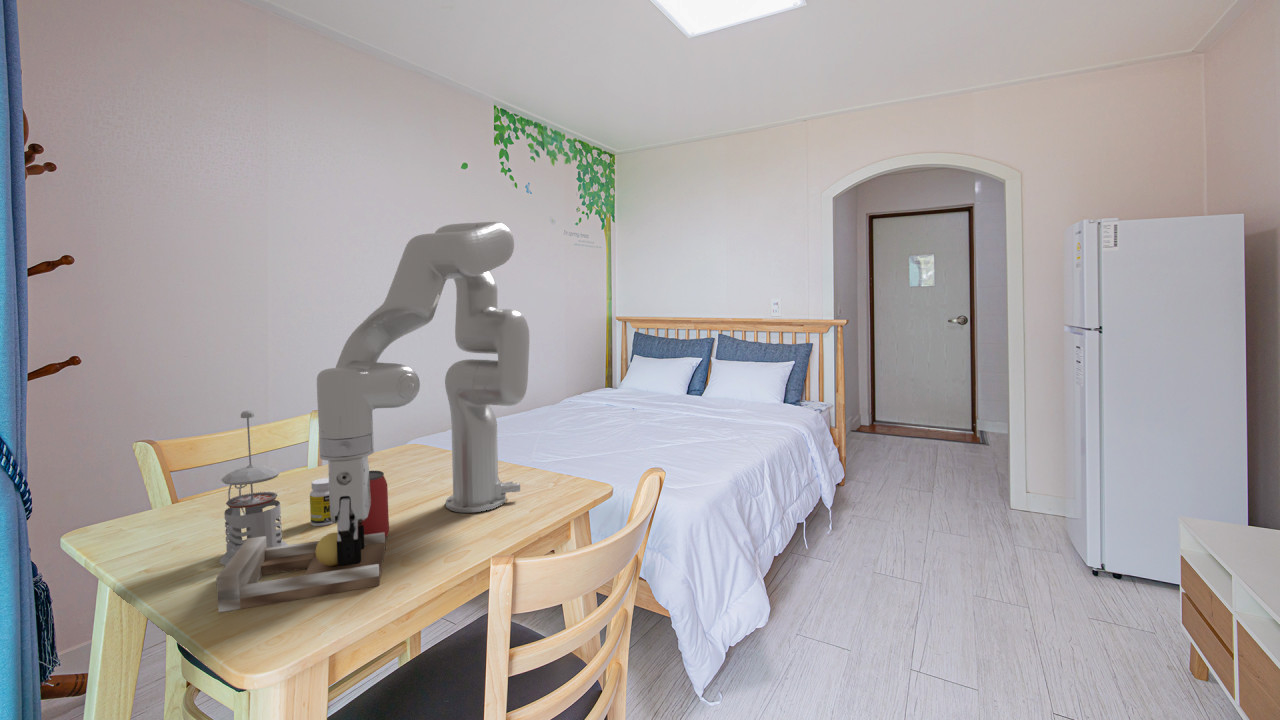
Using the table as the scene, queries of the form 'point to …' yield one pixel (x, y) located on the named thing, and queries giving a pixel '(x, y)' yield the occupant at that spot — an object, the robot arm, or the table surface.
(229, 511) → the french press
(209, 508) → the table surface
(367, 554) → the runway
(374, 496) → the beer can
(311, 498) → the supplement bottle
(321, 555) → the ball
